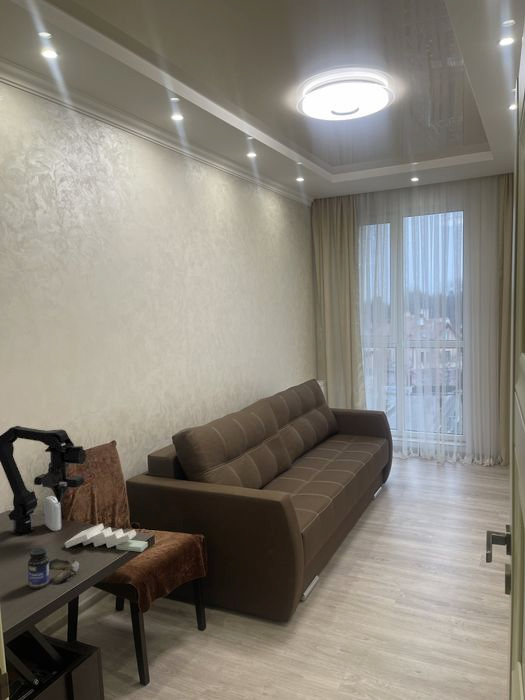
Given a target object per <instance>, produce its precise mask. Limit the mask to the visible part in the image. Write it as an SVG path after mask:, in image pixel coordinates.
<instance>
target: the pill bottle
mask: <svg viewBox="0 0 525 700" xmlns="http://www.w3.org/2000/svg"><path fill="white" fill-rule="evenodd" d="M29 557H30V558H29V559H28V561H27V568H28V569H27V571H28V572H27V573H28V575H27V576H28V577H27V578H28V579H27V580H28V587H29V588H30V589H33V590H36V589H37V590H38V589H39V590H40V589H42V588H45V587H47V586H48V585H49V584H50V569H49V562H50V559H49V556H47V549H46V548H43V547H38V548H34V549H32V550H30V552H29Z"/></svg>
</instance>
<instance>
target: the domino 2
mask: <svg viewBox="0 0 525 700" xmlns="http://www.w3.org/2000/svg"><path fill="white" fill-rule="evenodd" d="M112 532H113V531H112V528H111V527H107V528H104V529H102V530H101V531H100V532H98V533H97V534H95V535H94V536H93V537H91V538H90V539H88V540H86V541H83V542H81V543H82V545H83V546H87V545H89V544H91V543H93V542H95V541H97V540H100V539H102V538H105V537H106V536H108V535H109V534H110V533H112Z"/></svg>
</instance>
